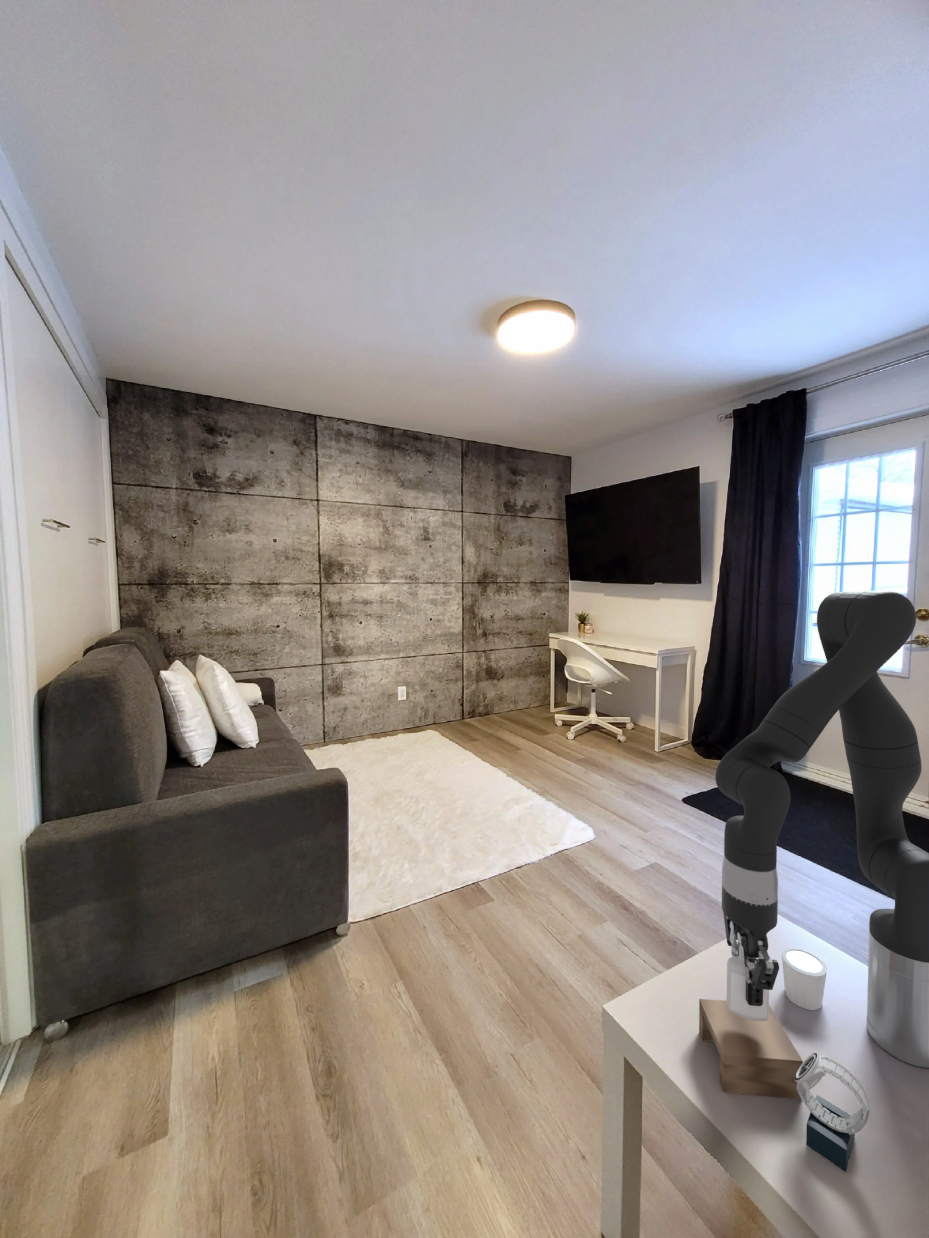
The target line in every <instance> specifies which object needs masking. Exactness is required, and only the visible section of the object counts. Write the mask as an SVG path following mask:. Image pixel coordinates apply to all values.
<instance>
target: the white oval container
mask: <svg viewBox="0 0 929 1238" xmlns="http://www.w3.org/2000/svg"><path fill="white" fill-rule="evenodd" d="M781 962H782V963H781V965H782V973H783V983H784V992H785V995H786V996H787V998H788V999H789V1000H790V1001H791V1002H792V1003H794V1005H797V1006H799V1007H800V1008H803V1009H806V1010H809V1011H817V1010H820V1009H821V1008H822V1007H823V999H824V994H825V987H826V978H827V974H828V973H827V971H828V967H827V965H826V963H825V962H824V961H823V960H822V959H821V958H820V957H819V956H817V955H815V954H814V953H813V952H811V951H808V950H805V949H803V948H797V947H787V948H785V949H783V950H782V953H781Z"/></svg>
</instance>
